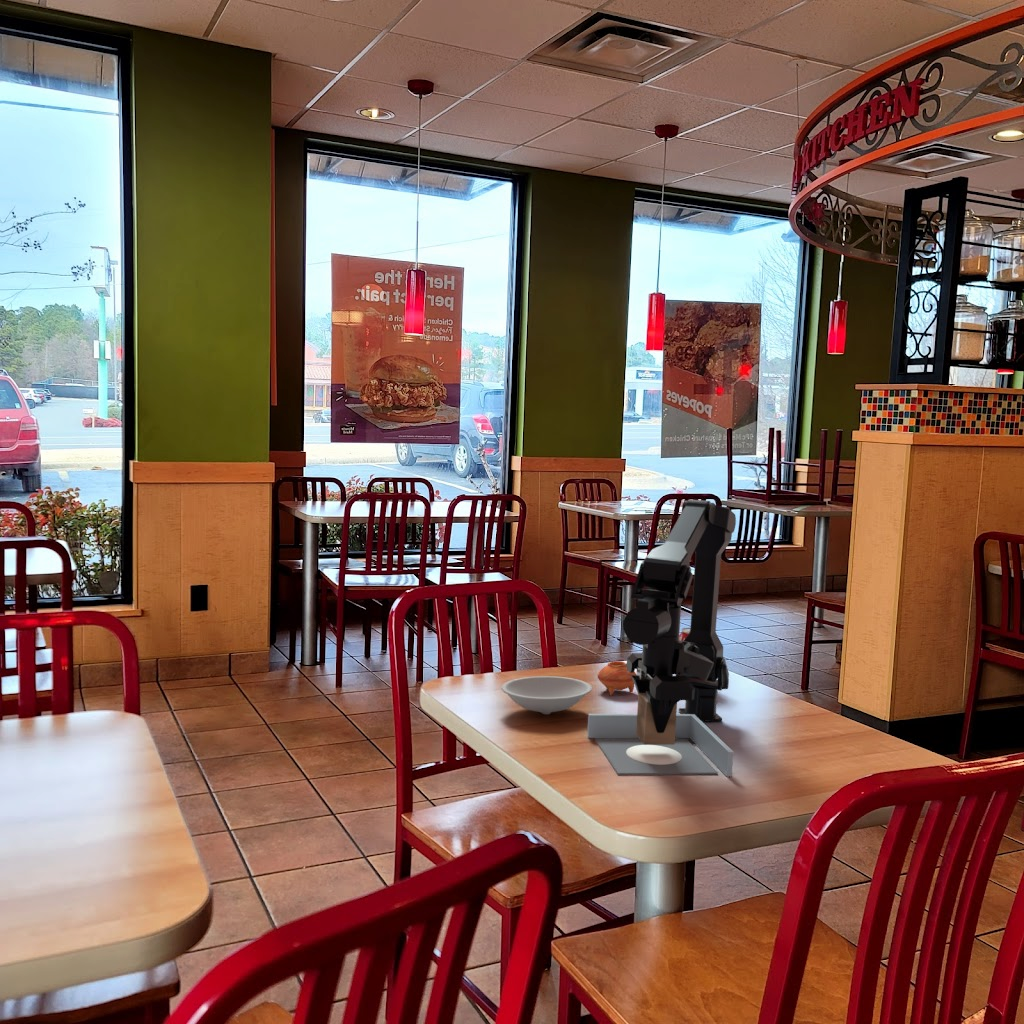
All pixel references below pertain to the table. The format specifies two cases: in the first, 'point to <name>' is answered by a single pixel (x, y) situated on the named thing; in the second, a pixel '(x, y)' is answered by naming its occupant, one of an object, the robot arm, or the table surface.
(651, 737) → the walnut block
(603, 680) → the pot
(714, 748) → the low wall
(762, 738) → the table surface
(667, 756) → the mat
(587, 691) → the dish
